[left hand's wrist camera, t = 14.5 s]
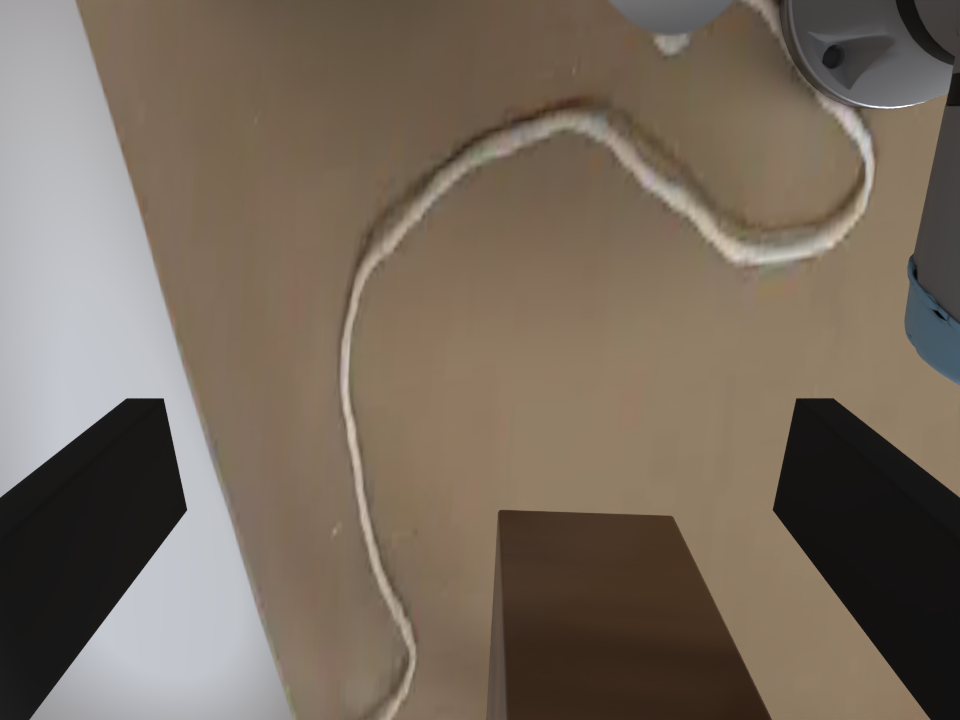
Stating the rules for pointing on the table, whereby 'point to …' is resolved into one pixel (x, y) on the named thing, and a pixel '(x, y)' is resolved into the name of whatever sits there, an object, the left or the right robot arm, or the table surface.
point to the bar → (608, 624)
